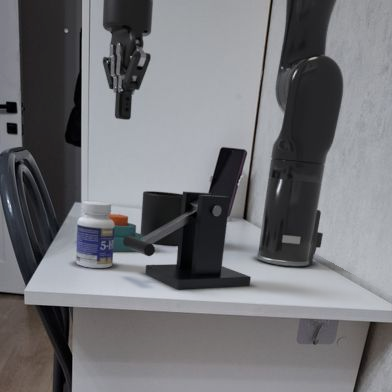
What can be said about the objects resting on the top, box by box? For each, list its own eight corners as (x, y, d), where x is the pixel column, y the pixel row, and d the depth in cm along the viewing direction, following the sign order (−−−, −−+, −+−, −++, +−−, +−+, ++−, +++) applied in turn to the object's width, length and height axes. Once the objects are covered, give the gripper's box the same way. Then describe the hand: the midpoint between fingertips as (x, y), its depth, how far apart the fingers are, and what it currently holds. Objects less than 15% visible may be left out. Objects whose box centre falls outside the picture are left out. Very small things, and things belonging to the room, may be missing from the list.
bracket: (177, 289, 71) (186, 196, 67) (145, 273, 78) (151, 188, 74) (249, 285, 77) (261, 200, 73) (213, 271, 84) (222, 192, 80)
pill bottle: (105, 270, 77) (108, 206, 74) (70, 265, 78) (71, 201, 75) (117, 264, 82) (120, 203, 79) (84, 259, 83) (86, 199, 80)
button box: (131, 242, 102) (132, 221, 101) (151, 251, 96) (153, 228, 94) (80, 242, 97) (81, 219, 95) (98, 251, 90) (99, 227, 89)
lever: (147, 261, 69) (141, 244, 67) (126, 252, 73) (120, 236, 72) (227, 214, 73) (222, 197, 72) (203, 208, 78) (198, 192, 76)
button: (122, 224, 97) (122, 214, 97) (131, 227, 95) (131, 217, 94) (103, 224, 95) (103, 213, 95) (112, 227, 93) (112, 216, 92)
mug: (165, 235, 116) (168, 191, 113) (196, 245, 107) (201, 198, 104) (125, 234, 111) (128, 188, 108) (155, 245, 101) (158, 195, 98)
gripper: (171, -4, 80) (162, 122, 86) (131, 9, 91) (125, 121, 96) (125, -18, 76) (119, 116, 82) (88, -2, 86) (85, 116, 92)
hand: (122, 118), depth 89 cm, fingers closed
